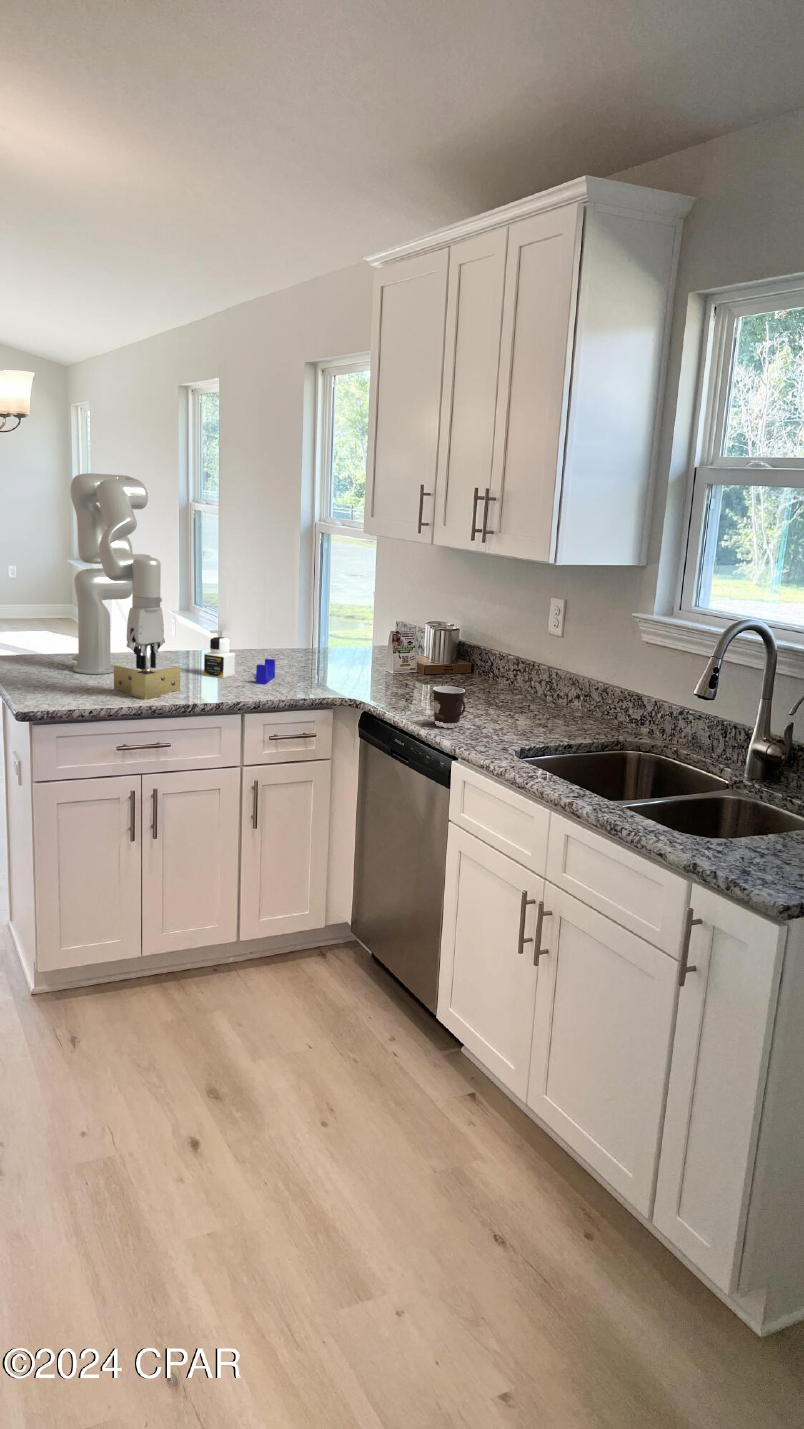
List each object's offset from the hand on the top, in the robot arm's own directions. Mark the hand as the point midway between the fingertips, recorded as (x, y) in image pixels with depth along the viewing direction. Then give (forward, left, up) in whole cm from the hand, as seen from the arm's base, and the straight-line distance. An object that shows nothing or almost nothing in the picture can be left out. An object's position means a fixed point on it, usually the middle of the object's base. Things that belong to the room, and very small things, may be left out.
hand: (146, 667), depth 290 cm
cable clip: (+6, +43, -9) cm, 44 cm away
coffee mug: (+78, +35, -9) cm, 86 cm away
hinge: (-5, +5, -8) cm, 11 cm away
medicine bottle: (-8, +38, -9) cm, 40 cm away
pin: (0, 0, -5) cm, 5 cm away
